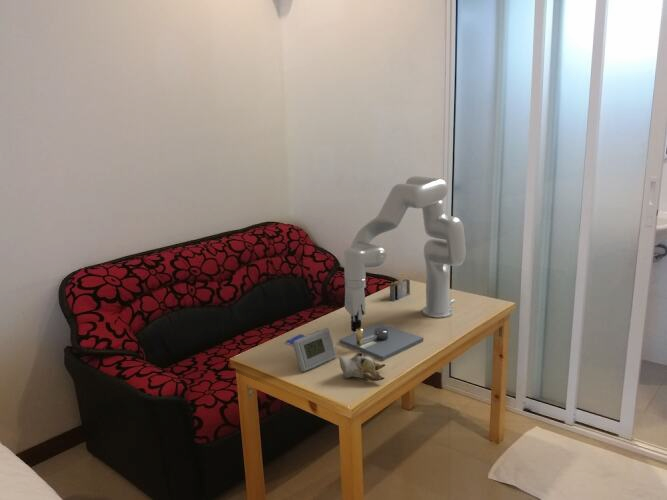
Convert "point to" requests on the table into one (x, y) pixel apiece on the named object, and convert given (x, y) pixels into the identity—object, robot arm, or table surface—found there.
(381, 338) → the lever
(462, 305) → the table surface
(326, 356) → the digital clock
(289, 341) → the hard drive
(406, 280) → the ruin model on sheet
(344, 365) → the ceramic sculpture
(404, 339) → the dial plate
